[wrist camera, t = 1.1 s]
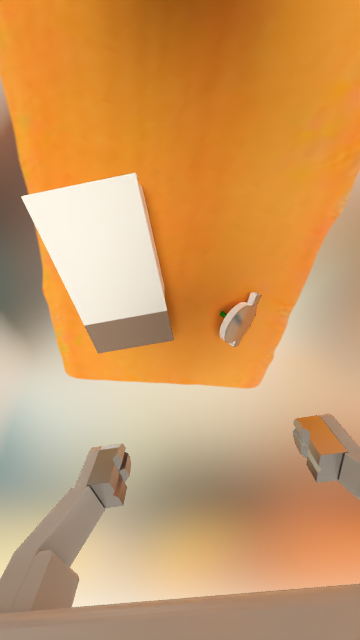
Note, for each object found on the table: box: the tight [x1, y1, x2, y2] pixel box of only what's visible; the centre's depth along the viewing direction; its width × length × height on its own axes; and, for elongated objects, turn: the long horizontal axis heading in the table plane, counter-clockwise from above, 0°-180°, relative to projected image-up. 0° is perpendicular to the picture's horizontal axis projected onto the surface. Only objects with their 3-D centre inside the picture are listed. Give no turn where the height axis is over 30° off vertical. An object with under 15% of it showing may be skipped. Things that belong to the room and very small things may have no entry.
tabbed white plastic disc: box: [219, 292, 262, 347], centre depth 48 cm, size 15×8×11 cm
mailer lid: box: [21, 173, 174, 353], centre depth 37 cm, size 30×17×3 cm, turn 10°
